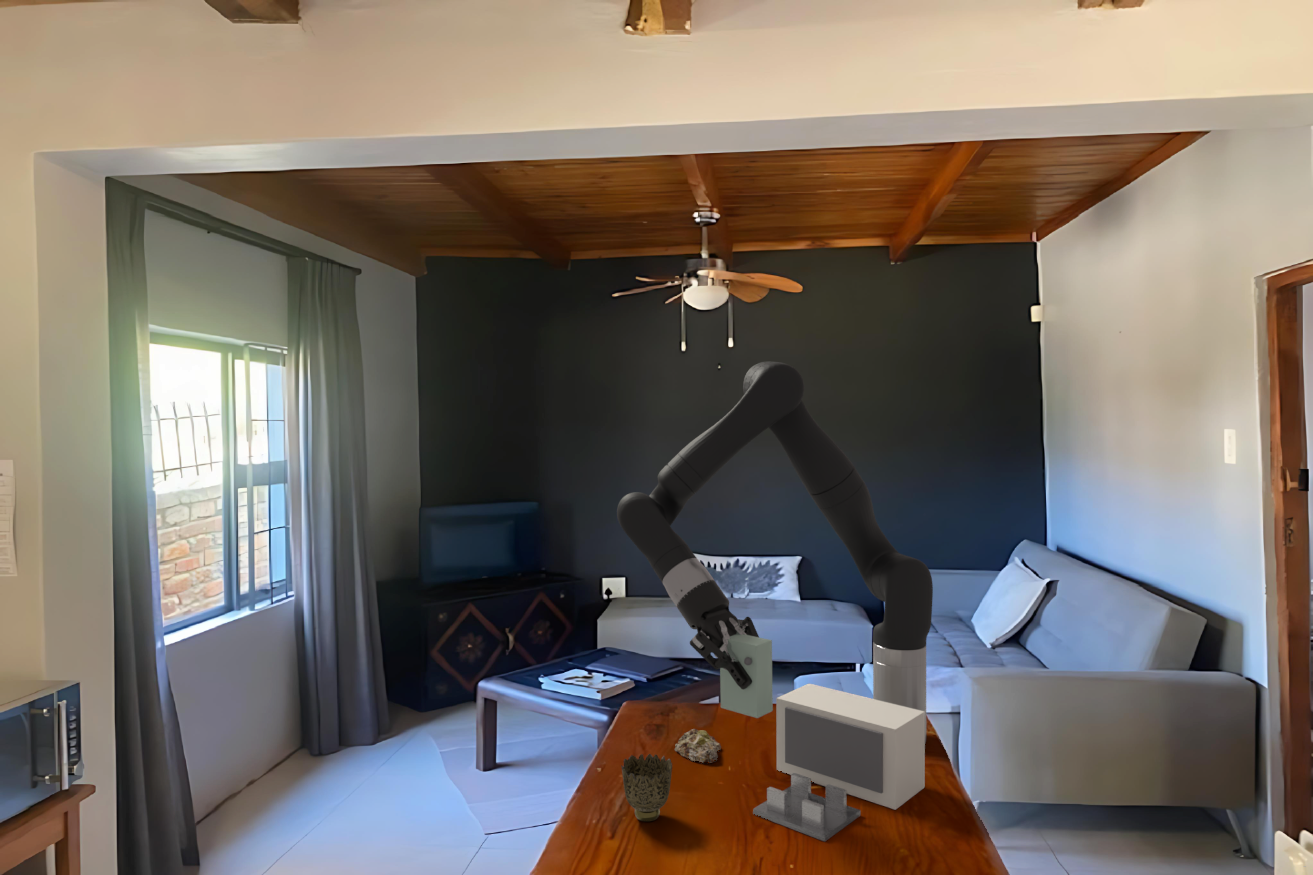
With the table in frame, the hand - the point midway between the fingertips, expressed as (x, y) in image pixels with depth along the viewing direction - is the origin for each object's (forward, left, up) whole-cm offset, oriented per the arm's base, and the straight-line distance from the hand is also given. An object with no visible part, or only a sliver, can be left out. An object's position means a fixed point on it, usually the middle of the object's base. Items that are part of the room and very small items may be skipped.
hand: (756, 682), depth 128 cm
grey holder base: (0, +9, -18) cm, 20 cm away
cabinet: (-15, +7, -18) cm, 24 cm away
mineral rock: (-7, -17, -18) cm, 26 cm away
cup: (+16, -8, -18) cm, 25 cm away
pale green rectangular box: (0, -2, -5) cm, 5 cm away
